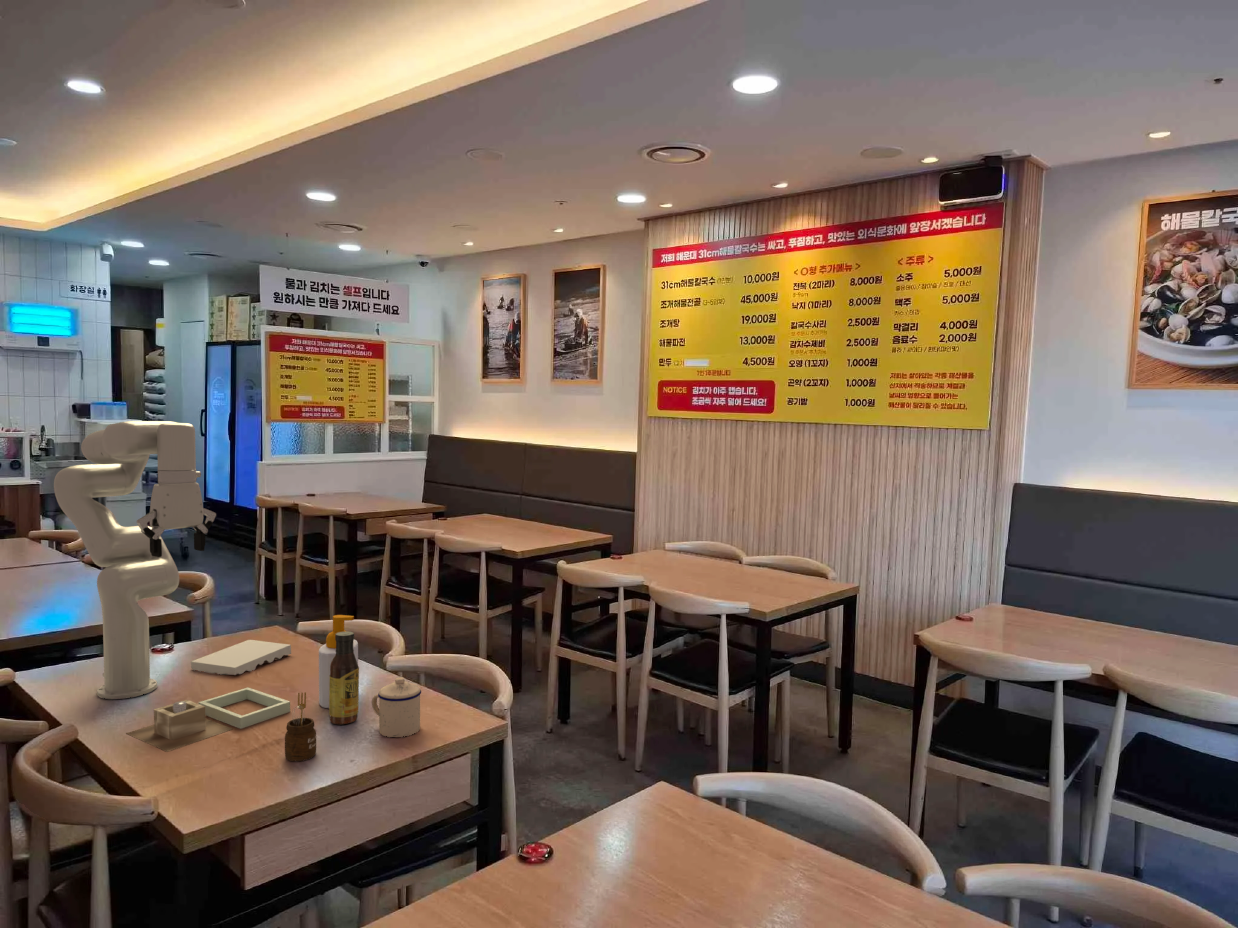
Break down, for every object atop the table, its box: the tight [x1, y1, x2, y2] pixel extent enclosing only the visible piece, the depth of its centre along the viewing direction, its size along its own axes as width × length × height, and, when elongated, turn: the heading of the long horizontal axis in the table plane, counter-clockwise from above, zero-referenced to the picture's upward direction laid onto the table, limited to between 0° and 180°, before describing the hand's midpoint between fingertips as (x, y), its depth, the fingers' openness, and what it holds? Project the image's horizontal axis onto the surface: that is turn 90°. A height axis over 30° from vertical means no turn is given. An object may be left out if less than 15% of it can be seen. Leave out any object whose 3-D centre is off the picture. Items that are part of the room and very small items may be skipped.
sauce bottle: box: [328, 630, 360, 725], centre depth 180 cm, size 7×6×20 cm
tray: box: [197, 687, 291, 730], centre depth 181 cm, size 16×12×4 cm
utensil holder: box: [284, 692, 317, 762], centre depth 162 cm, size 6×6×12 cm
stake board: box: [125, 717, 234, 753], centre depth 170 cm, size 16×14×2 cm
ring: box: [153, 699, 206, 741], centre depth 169 cm, size 7×7×5 cm
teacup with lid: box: [371, 677, 422, 738], centre depth 176 cm, size 12×9×12 cm
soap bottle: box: [318, 614, 359, 709], centre depth 193 cm, size 13×8×20 cm, turn 178°
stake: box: [172, 700, 186, 714], centre depth 169 cm, size 2×2×6 cm
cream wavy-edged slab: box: [190, 639, 292, 676], centre depth 220 cm, size 15×3×20 cm
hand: (178, 553), depth 182 cm, fingers open, 9 cm apart
